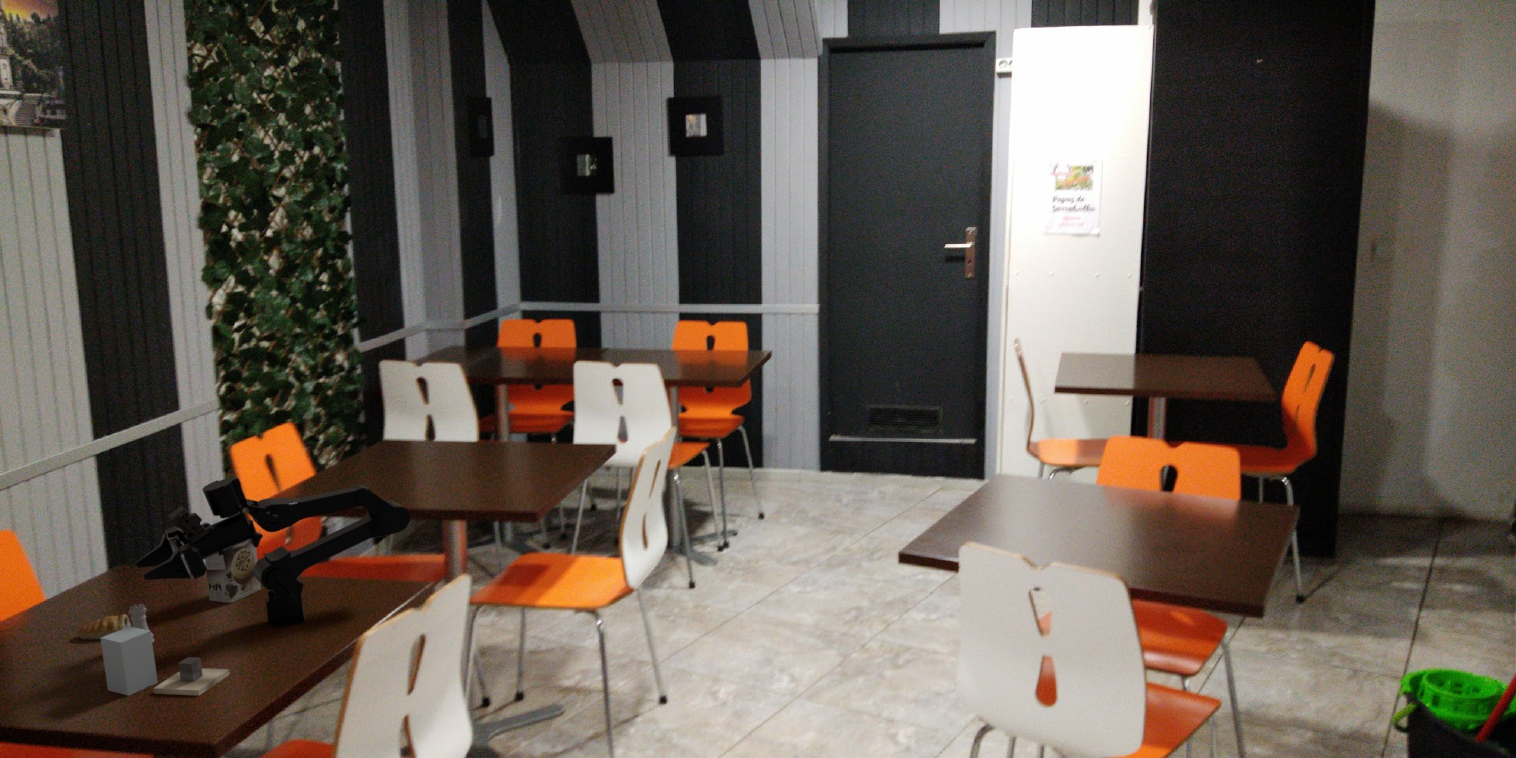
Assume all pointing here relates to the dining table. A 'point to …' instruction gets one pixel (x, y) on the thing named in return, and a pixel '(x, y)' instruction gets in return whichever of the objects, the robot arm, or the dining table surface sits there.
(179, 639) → the dining table surface
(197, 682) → the post board
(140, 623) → the rook chess piece
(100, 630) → the pastry
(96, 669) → the dining table surface
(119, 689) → the grey tall rectangular block
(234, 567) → the coffee box
